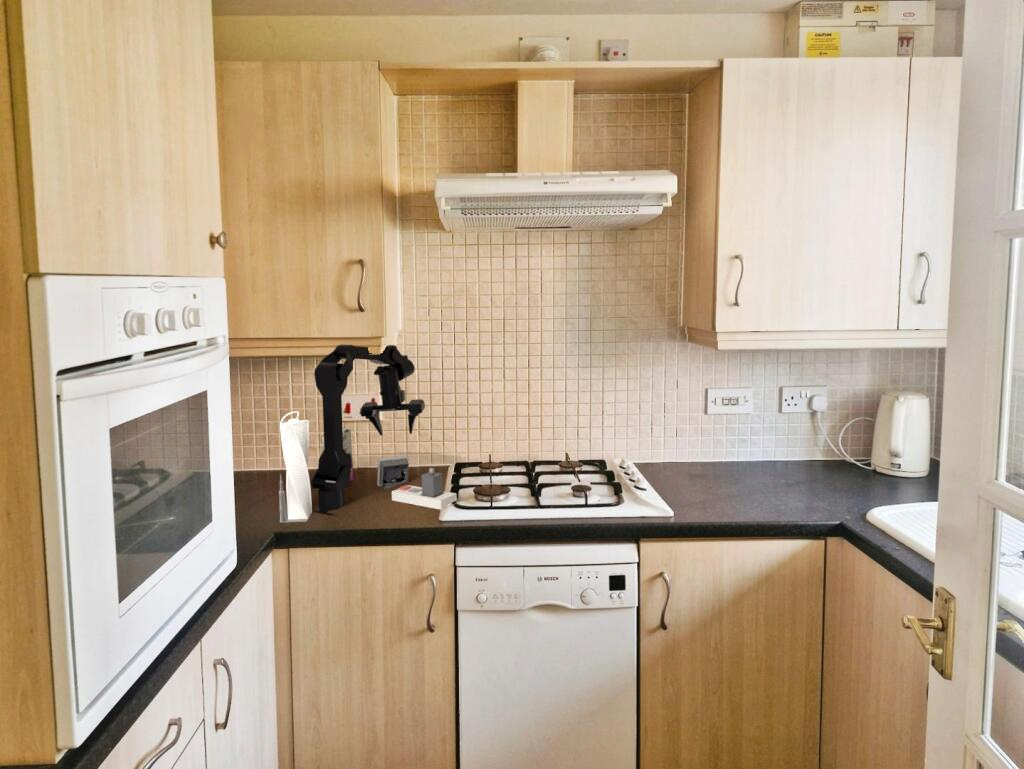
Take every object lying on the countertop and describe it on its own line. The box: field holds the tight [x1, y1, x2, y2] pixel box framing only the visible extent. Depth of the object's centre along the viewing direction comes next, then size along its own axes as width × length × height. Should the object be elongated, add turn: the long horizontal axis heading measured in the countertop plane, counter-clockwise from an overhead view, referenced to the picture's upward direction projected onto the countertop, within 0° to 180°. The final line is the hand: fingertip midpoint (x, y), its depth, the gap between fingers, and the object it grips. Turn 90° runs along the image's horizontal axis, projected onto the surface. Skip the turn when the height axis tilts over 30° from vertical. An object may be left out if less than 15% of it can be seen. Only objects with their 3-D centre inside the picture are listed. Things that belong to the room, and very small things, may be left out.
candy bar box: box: [321, 427, 355, 484], centre depth 225 cm, size 11×5×16 cm, turn 170°
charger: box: [420, 467, 444, 498], centre depth 203 cm, size 4×4×10 cm
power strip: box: [391, 484, 458, 510], centre depth 206 cm, size 7×17×4 cm, turn 58°
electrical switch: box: [376, 455, 410, 490], centre depth 223 cm, size 9×5×9 cm, turn 113°
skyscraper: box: [278, 410, 313, 523], centre depth 196 cm, size 8×8×28 cm
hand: (396, 434), depth 229 cm, fingers open, 9 cm apart
